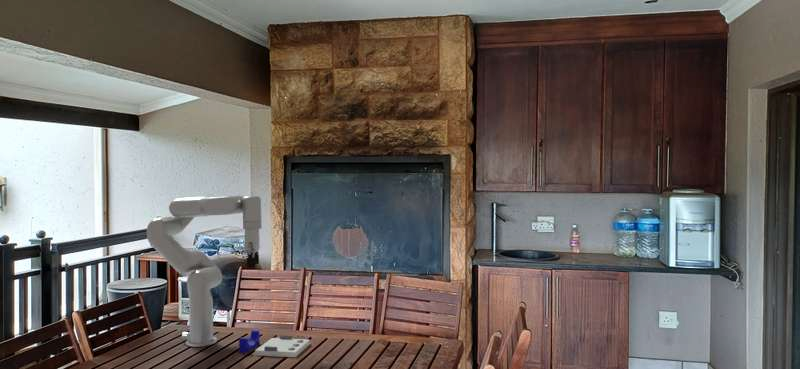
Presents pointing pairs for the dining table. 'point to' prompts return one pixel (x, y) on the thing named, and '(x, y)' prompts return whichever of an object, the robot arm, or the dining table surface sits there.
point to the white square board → (282, 347)
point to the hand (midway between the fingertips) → (253, 265)
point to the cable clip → (249, 342)
